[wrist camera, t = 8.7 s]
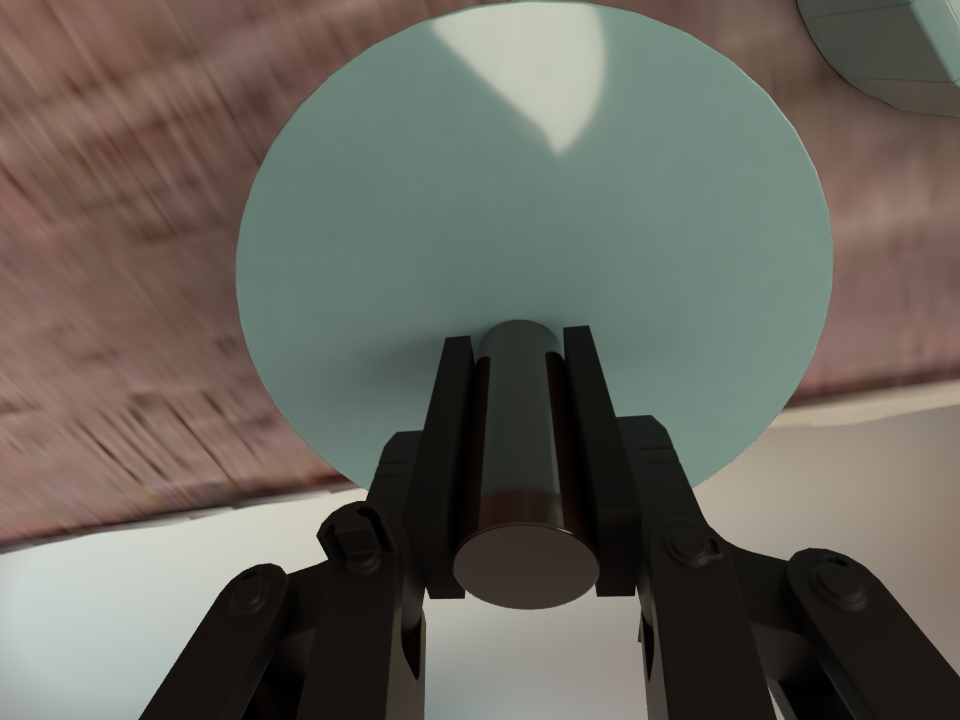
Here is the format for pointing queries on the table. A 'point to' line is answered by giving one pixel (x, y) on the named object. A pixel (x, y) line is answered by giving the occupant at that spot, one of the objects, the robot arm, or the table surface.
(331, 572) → the robot arm
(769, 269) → the pan lid
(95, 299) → the table surface
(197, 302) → the table surface
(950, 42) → the pan
